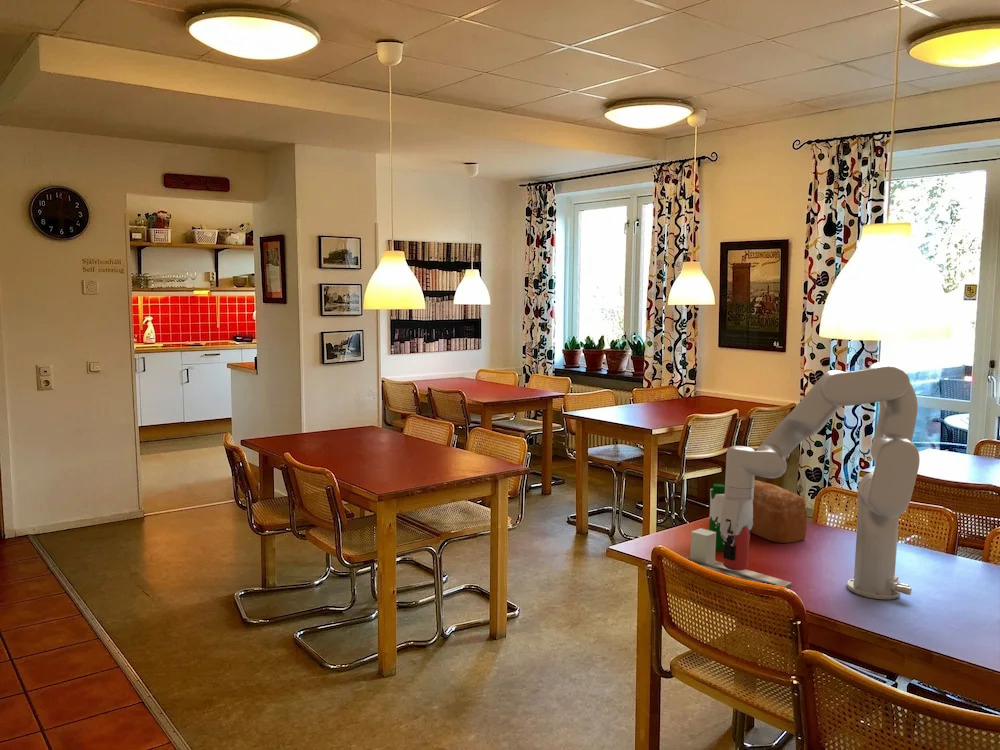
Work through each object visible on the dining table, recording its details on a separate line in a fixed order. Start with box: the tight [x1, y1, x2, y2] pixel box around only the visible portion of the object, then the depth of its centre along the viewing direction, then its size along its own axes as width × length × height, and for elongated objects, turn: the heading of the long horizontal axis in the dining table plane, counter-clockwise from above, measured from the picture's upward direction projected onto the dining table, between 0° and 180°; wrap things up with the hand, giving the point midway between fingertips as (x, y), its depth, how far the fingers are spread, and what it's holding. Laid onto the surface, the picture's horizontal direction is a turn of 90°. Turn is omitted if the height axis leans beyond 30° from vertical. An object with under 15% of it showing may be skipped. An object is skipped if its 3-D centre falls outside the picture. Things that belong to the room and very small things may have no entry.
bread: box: [750, 479, 808, 544], centre depth 250 cm, size 14×26×16 cm, turn 22°
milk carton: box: [708, 483, 725, 552], centre depth 229 cm, size 9×9×20 cm
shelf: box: [683, 556, 793, 589], centre depth 208 cm, size 28×10×3 cm, turn 44°
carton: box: [689, 527, 716, 565], centre depth 215 cm, size 5×5×9 cm
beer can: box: [722, 525, 751, 570], centre depth 208 cm, size 7×7×12 cm
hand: (735, 555), depth 208 cm, fingers closed on beer can, 6 cm apart
